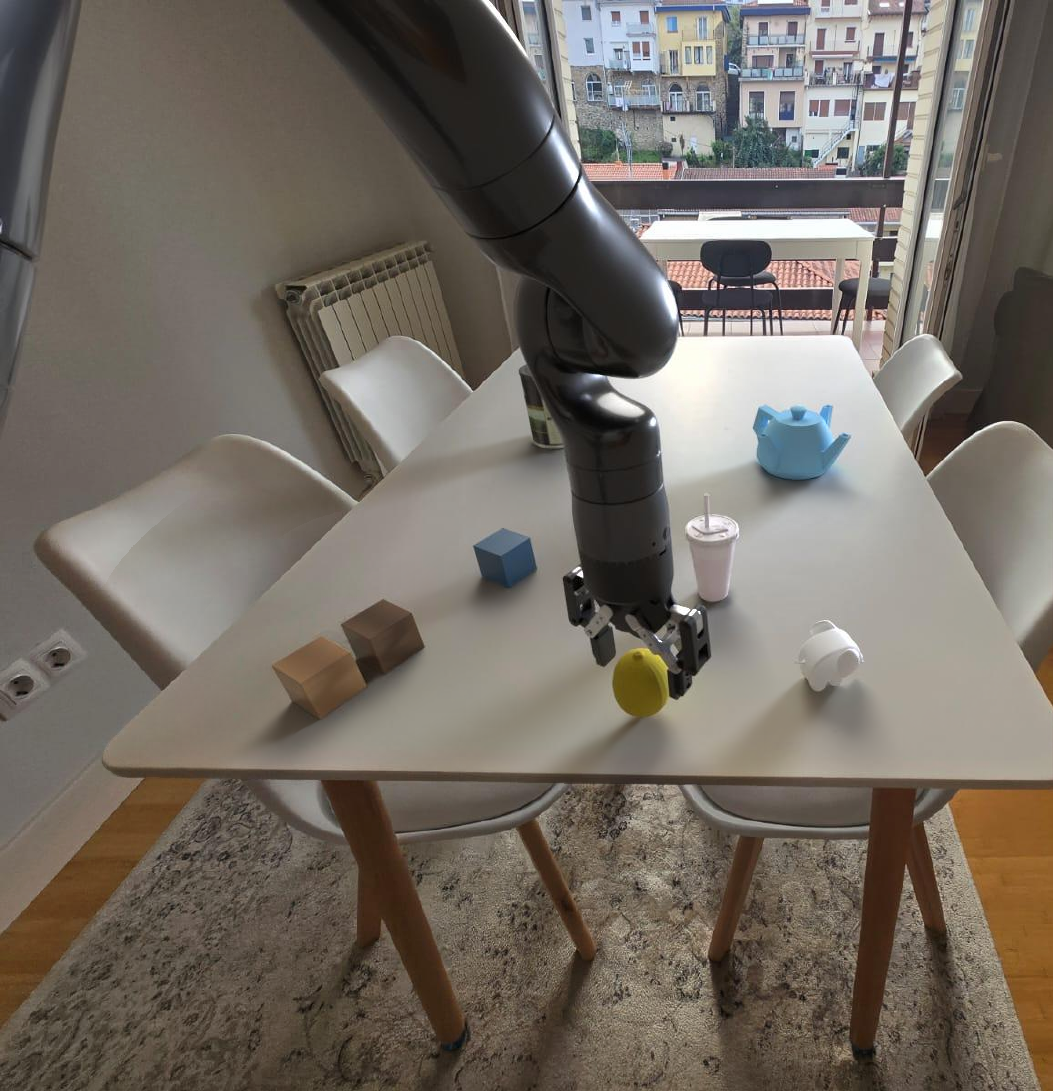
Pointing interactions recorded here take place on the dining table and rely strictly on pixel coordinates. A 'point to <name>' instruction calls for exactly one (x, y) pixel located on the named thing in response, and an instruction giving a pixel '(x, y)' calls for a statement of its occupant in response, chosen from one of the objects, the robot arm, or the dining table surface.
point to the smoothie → (712, 552)
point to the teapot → (796, 442)
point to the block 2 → (383, 636)
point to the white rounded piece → (828, 655)
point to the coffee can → (539, 414)
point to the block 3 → (505, 557)
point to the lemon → (640, 683)
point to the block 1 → (320, 676)
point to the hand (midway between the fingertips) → (642, 676)
